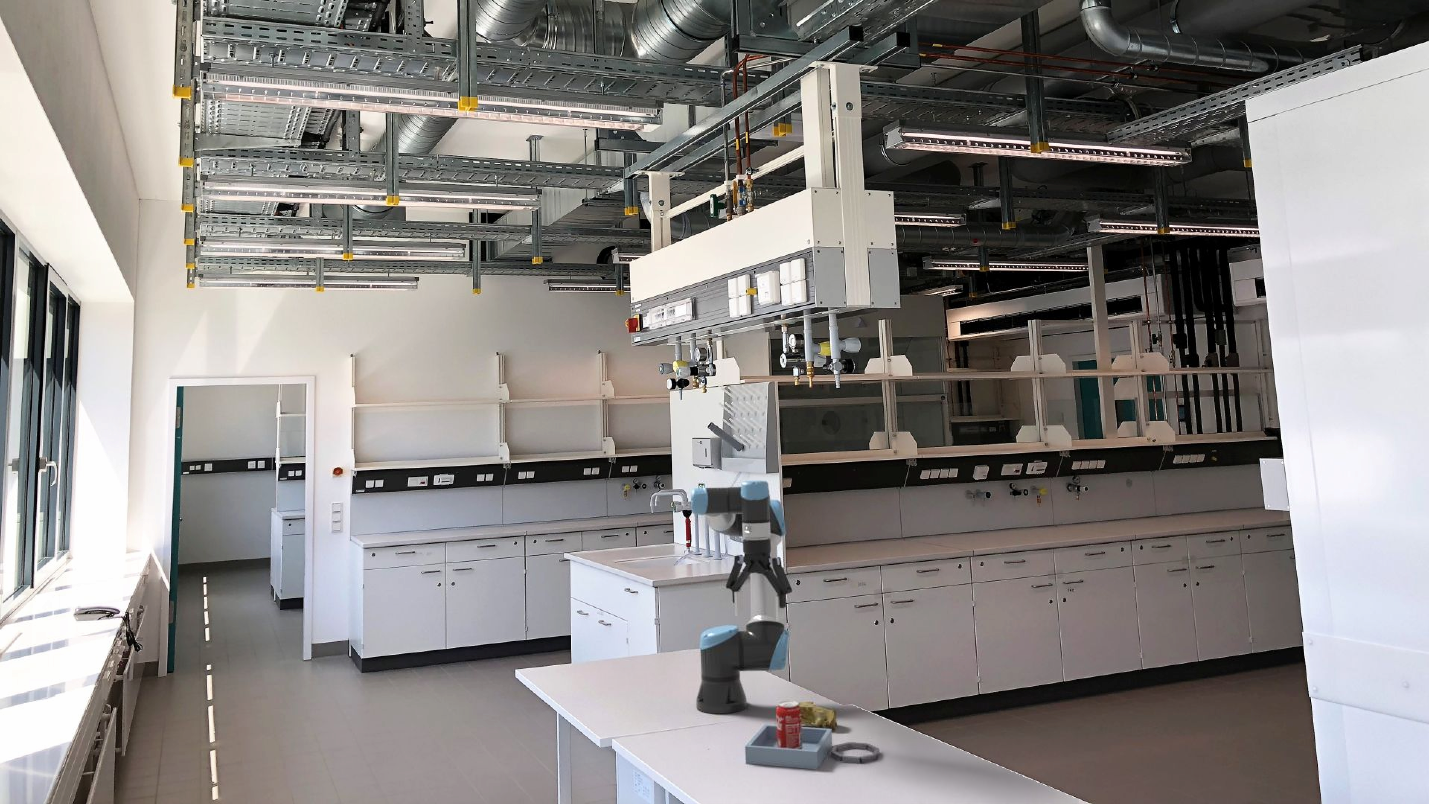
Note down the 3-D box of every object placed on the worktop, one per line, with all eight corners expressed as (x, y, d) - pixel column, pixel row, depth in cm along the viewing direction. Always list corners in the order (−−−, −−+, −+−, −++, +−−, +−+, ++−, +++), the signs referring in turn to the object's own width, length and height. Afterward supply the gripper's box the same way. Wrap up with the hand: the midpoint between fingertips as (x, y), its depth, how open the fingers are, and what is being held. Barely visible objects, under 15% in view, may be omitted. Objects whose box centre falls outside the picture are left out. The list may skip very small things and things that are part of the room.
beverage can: (787, 745, 239) (785, 698, 239) (807, 750, 235) (805, 702, 235) (772, 752, 234) (770, 704, 234) (793, 757, 230) (791, 708, 230)
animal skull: (778, 723, 260) (778, 699, 260) (833, 722, 261) (832, 698, 261) (783, 735, 250) (783, 710, 250) (840, 734, 251) (840, 709, 251)
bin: (765, 740, 246) (764, 724, 246) (832, 745, 240) (831, 729, 240) (745, 763, 229) (745, 746, 229) (817, 769, 223) (816, 751, 223)
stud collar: (836, 745, 239) (836, 741, 239) (881, 749, 236) (881, 744, 236) (827, 760, 229) (827, 755, 229) (874, 764, 225) (874, 759, 225)
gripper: (711, 537, 255) (714, 615, 254) (787, 541, 239) (790, 624, 239) (728, 535, 261) (731, 611, 260) (803, 538, 245) (806, 619, 244)
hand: (759, 617), depth 249 cm, fingers open, 13 cm apart
